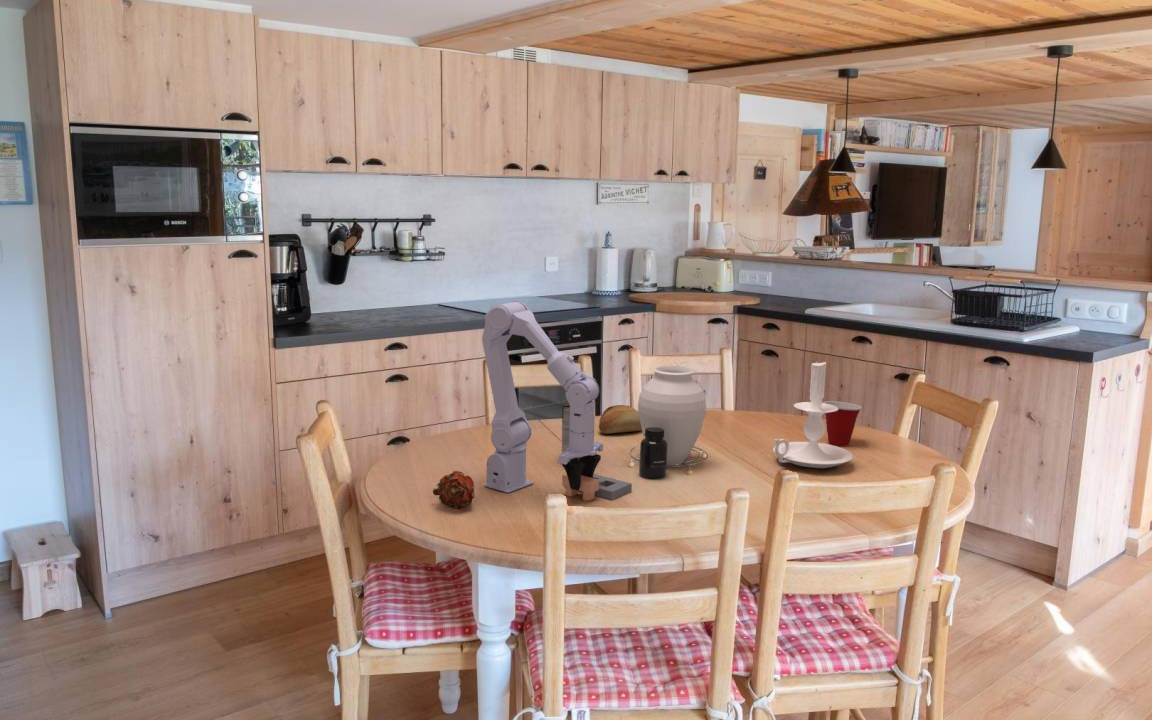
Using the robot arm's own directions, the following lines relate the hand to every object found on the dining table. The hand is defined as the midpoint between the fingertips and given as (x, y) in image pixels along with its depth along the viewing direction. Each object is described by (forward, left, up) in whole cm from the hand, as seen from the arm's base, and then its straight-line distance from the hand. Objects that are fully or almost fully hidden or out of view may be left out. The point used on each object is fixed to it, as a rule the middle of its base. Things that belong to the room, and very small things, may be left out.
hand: (580, 486), depth 206 cm
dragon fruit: (-23, +18, -3) cm, 29 cm away
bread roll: (+54, +26, -3) cm, 60 cm away
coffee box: (+22, +18, -3) cm, 29 cm away
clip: (0, 0, -2) cm, 2 cm away
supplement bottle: (+25, -4, -3) cm, 25 cm away
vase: (+38, -1, -3) cm, 38 cm away
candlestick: (+60, -30, -3) cm, 67 cm away
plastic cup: (+86, -29, -3) cm, 91 cm away
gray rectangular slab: (+7, 0, -2) cm, 7 cm away
